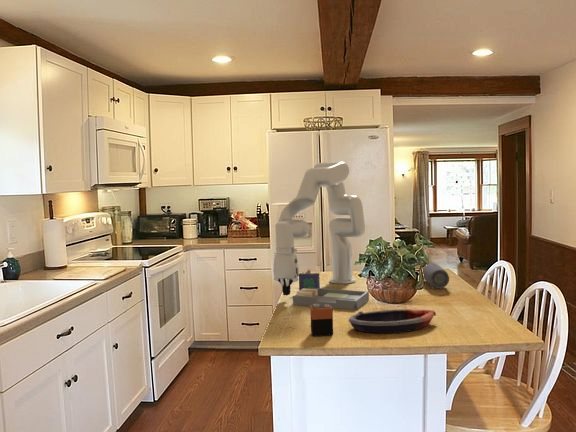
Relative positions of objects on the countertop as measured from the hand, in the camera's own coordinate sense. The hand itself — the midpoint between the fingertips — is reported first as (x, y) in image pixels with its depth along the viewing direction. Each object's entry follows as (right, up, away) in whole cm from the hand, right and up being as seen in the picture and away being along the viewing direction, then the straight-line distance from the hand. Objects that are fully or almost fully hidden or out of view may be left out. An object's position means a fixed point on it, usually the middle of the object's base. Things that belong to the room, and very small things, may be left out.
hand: (286, 294), depth 212 cm
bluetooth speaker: (+67, +1, +20) cm, 70 cm away
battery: (+12, -6, -46) cm, 48 cm away
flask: (+10, -2, +13) cm, 17 cm away
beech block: (+9, -1, -4) cm, 10 cm away
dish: (+36, -5, -41) cm, 55 cm away
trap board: (+18, -2, -4) cm, 19 cm away
